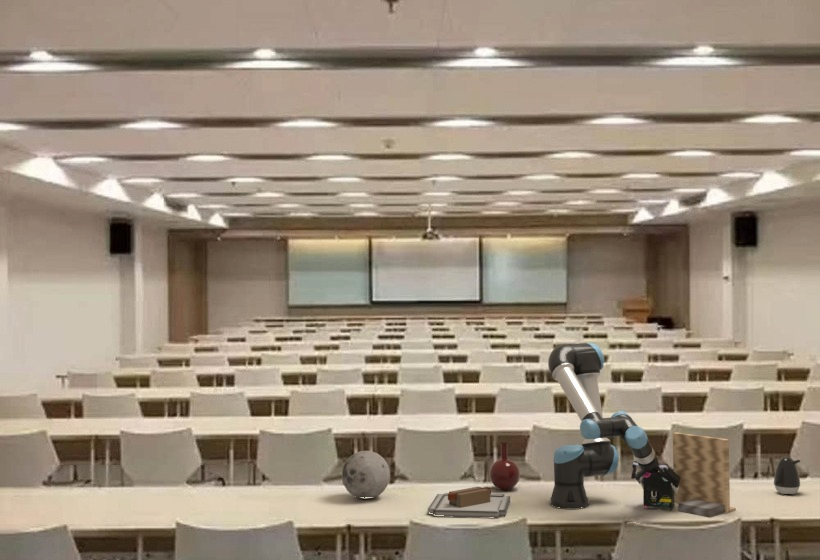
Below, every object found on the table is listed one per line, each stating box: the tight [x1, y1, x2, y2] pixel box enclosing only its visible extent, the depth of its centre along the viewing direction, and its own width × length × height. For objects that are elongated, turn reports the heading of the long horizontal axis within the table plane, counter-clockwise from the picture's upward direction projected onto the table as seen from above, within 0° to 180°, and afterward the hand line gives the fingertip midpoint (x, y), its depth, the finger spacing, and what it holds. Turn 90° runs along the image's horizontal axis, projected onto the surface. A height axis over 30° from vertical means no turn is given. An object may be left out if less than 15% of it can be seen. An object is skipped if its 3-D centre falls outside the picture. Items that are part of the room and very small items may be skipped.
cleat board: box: [672, 431, 737, 518], centre depth 392 cm, size 24×16×28 cm, turn 40°
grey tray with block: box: [427, 486, 511, 519], centre depth 400 cm, size 30×30×8 cm
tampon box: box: [642, 468, 675, 511], centre depth 396 cm, size 11×9×15 cm
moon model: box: [341, 450, 391, 498], centre depth 421 cm, size 20×20×20 cm
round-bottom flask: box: [489, 442, 521, 491], centre depth 433 cm, size 13×13×20 cm
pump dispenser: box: [773, 456, 801, 495], centre depth 415 cm, size 10×10×15 cm
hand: (661, 489), depth 398 cm, fingers closed on tampon box, 12 cm apart
